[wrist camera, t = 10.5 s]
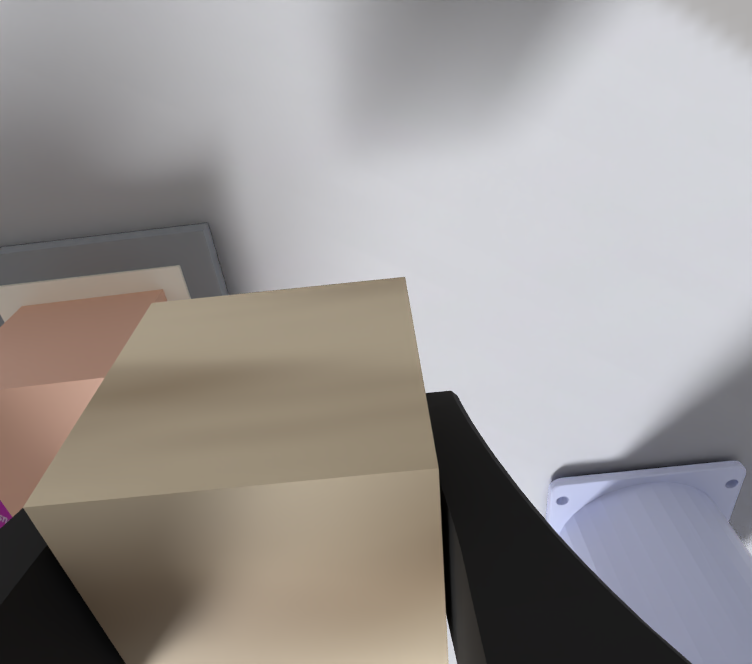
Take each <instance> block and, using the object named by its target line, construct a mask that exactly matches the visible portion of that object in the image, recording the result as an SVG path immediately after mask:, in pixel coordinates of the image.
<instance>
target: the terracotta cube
mask: <svg viewBox="0 0 752 664" xmlns="http://www.w3.org/2000/svg"><path fill="white" fill-rule="evenodd" d="M166 301H167V299H166V296H165V293H164V290H163V289H161V290H152V291H144V292H136V293H127V294H119V295H111V296H103V297H94V298H86V299H78V300H69V301H61V302H53V303H44V304H36V305H28V306H21V307H20V308H19V309H18V310H17V311H16V312H15V313H14V314H13V315H12V316H11V317H10V318H9V319H8V320H7V321H6V322H5V323H4V324H3V325H2V326H1V327H0V500H1V502H2V503H3V505H4V506H5V507H6V509H7V510H8V512H9V513H10V514H11V516H12V517H13V516H14V515H15V514H17V513H18V512H19V511H20V510H21V509H22V508H23V507H24V505H25V503H26V502H27V500H28V499H29V497H30V495H31V494H32V492H33V491H34V489H35V488H36V486H37V484H38V483H39V481H40V480H41V478H42V476H43V475H44V473H45V472H46V470H47V468H48V467H49V465H50V464H51V462H52V461H53V459H54V457H55V456H56V454H57V453H58V451H59V449H60V448H61V446H62V445H63V443H64V441H65V440H66V438H67V437H68V435H69V434H70V432H71V430H72V429H73V427H74V426H75V424H76V422H77V421H78V419H79V418H80V416H81V414H82V413H83V411H84V410H85V408H86V407H87V405H88V403H89V402H90V400H91V399H92V397H93V395H94V394H95V392H96V391H97V389H98V387H99V386H100V384H101V383H102V381H103V380H104V378H105V376H106V375H107V373H108V372H109V370H110V368H111V367H112V365H113V364H114V362H115V360H116V359H117V357H118V356H119V354H120V353H121V351H122V349H123V348H124V346H125V345H126V343H127V341H128V340H129V338H130V337H131V335H132V333H133V332H134V330H135V329H136V327H137V326H138V324H139V322H140V321H141V319H142V318H143V316H144V314H145V313H146V311H147V310H148V308H149V306H150V305H151V303H156V302H166Z"/></svg>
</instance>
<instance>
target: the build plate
mask: <svg viewBox="0 0 752 664" xmlns="http://www.w3.org/2000/svg"><path fill="white" fill-rule="evenodd" d="M161 289H163V290H164V293H165V296H166V299H167V301H176V300H185V299H195V298H205V297H215V296H224V295H228V292H227V288H226V285H225V281H224V278H223V274H222V271H221V267H220V264H219V260H218V257H217V253H216V250H215V246H214V243H213V239H212V236H211V232H210V229H209V225H208V223H203V224H194V225H186V226H177V227H168V228H160V229H151V230H143V231H134V232H126V233H117V234H109V235H100V236H91V237H83V238H74V239H66V240H57V241H49V242H40V243H32V244H23V245H14V246H6V247H0V327H1V326H2V325H3V324H4V323H5V322H6V321H7V320H8V319H9V318H10V317H11V316H12V315H13V314H14V313H15V312H16V311H17V310H18V309H19V308H20V307H21V306H28V305H36V304H44V303H53V302H61V301H69V300H78V299H86V298H94V297H103V296H111V295H119V294H127V293H136V292H144V291H152V290H161Z"/></svg>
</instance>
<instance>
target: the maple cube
mask: <svg viewBox="0 0 752 664" xmlns="http://www.w3.org/2000/svg"><path fill="white" fill-rule="evenodd" d="M23 508H24V510H25V511H26V513H27V514H28V516H29V517H30V519H31V521H32V522H33V524H34V525H35V527H36V528H37V530H38V531H39V533H40V534H41V536H42V537H43V539H44V540H45V542H46V543H47V545H48V546H49V548H50V549H51V551H52V552H53V554H54V555H55V557H56V558H57V560H58V562H59V563H60V565H61V566H62V568H63V569H64V571H65V572H66V574H67V575H68V577H69V578H70V580H71V581H72V583H73V584H74V586H75V587H76V589H77V590H78V592H79V593H80V595H81V596H82V598H83V599H84V601H85V602H86V604H87V606H88V607H89V609H90V610H91V612H92V613H93V615H94V616H95V618H96V619H97V621H98V622H99V624H100V625H101V627H102V628H103V630H104V631H105V633H106V634H107V636H108V637H109V639H110V640H111V642H112V643H113V645H114V646H115V648H116V650H117V651H118V653H119V654H120V656H121V657H122V659H123V660H124V662H125V663H126V664H448V645H447V625H446V605H445V585H444V565H443V545H442V525H441V505H440V485H439V467H438V462H437V456H436V450H435V445H434V439H433V433H432V428H431V422H430V416H429V411H428V405H427V399H426V393H425V388H424V382H423V376H422V371H421V365H420V359H419V354H418V348H417V342H416V337H415V331H414V325H413V320H412V314H411V308H410V303H409V297H408V291H407V286H406V280H405V277H400V278H390V279H380V280H370V281H361V282H351V283H341V284H331V285H322V286H312V287H302V288H293V289H283V290H273V291H263V292H254V293H244V294H234V295H224V296H215V297H205V298H195V299H185V300H176V301H166V302H156V303H151V305H150V306H149V308H148V310H147V311H146V313H145V314H144V316H143V318H142V319H141V321H140V322H139V324H138V326H137V327H136V329H135V330H134V332H133V333H132V335H131V337H130V338H129V340H128V341H127V343H126V345H125V346H124V348H123V349H122V351H121V353H120V354H119V356H118V357H117V359H116V360H115V362H114V364H113V365H112V367H111V368H110V370H109V372H108V373H107V375H106V376H105V378H104V380H103V381H102V383H101V384H100V386H99V387H98V389H97V391H96V392H95V394H94V395H93V397H92V399H91V400H90V402H89V403H88V405H87V407H86V408H85V410H84V411H83V413H82V414H81V416H80V418H79V419H78V421H77V422H76V424H75V426H74V427H73V429H72V430H71V432H70V434H69V435H68V437H67V438H66V440H65V441H64V443H63V445H62V446H61V448H60V449H59V451H58V453H57V454H56V456H55V457H54V459H53V461H52V462H51V464H50V465H49V467H48V468H47V470H46V472H45V473H44V475H43V476H42V478H41V480H40V481H39V483H38V484H37V486H36V488H35V489H34V491H33V492H32V494H31V495H30V497H29V499H28V500H27V502H26V503H25V505H24V507H23Z"/></svg>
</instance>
